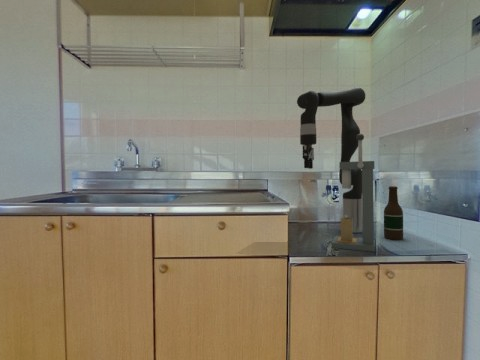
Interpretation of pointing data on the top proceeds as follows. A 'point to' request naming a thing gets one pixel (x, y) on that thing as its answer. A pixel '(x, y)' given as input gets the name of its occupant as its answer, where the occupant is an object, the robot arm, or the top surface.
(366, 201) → the press
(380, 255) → the top surface
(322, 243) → the top surface
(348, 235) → the block
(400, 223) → the beer bottle
